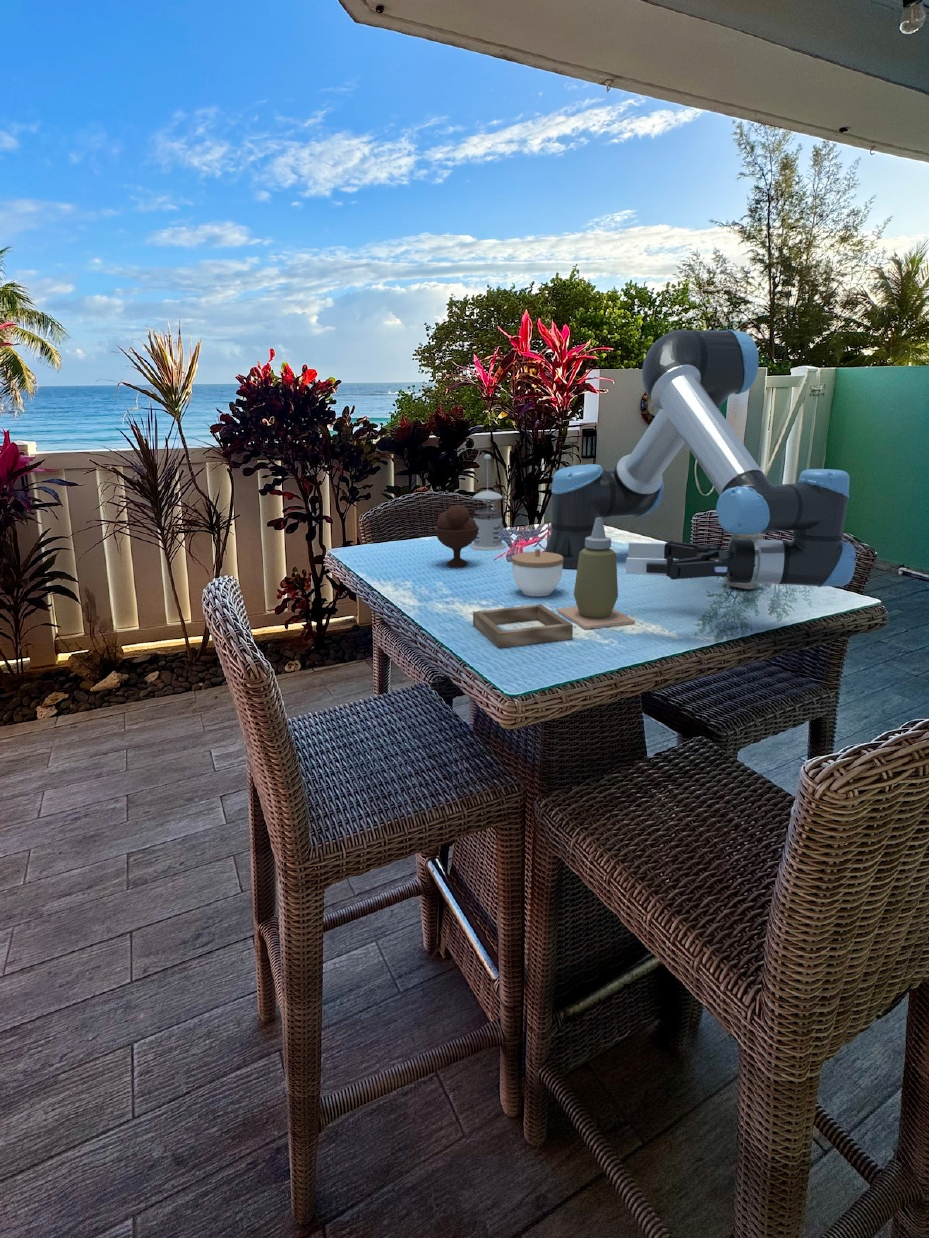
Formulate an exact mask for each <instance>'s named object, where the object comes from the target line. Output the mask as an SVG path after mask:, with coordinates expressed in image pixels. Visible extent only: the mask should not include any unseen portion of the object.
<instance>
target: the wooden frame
mask: <svg viewBox="0 0 929 1238" xmlns="http://www.w3.org/2000/svg"><path fill="white" fill-rule="evenodd" d="M528 621H539V622H540V623H542V624H543V625H542V626H540V625H539V626H533V627H524V628H514V629H507V630H503V629H501V628H500V627H499V626H498V625H503V623H504V624H511V623H519V622H528ZM472 625H473V626H474V627H475V628H476V629H477V630H478V631H479V632H481V633H482V635H484V636H485V637H486V638H487V639H488V640H489V641H491V642H492V643H493V645H495V646H496V647H497V648H498V649H500V648H501V649H503V648H509V647H510V648H511V647H519V646H526V645H534V644H542V643H550V642H559V641H565V640H567V641H568V640H573V637H574V636H573V634H574V633H573V632H574V630H573V629H574V625H573V624H572V623H571V622H569V620H566V619H564V618H563V617H561V616H560V615H558V614H557V613H556V612H553V611H552V610H550V609H549V608H547V607H546V606H544V605H543V604H542V603H541V604H532V605H522V606H512V607H506V608H505V607H504V608H495V609H486V610H485V609H484V610H477V611H473V612H472Z"/></svg>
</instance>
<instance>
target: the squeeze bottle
mask: <svg viewBox="0 0 929 1238" xmlns="http://www.w3.org/2000/svg"><path fill="white" fill-rule="evenodd" d="M603 519H604V518H596V519H595V523H594V527H593V531H592V535H591V536H590V537H586V538H585V547H586V548H584V549H583V550H582V551H580V553H579V560H578V567H577V568H576V576H575V584H574V590H573V591H574V592H573V597H574V601H575V604H576V606H577V607H578V610H579V613H580V614H581V615H583V616H586V617H593V618H602V617H607V616H610V615H611V613H612V610H613V609H615V608H614V607H615V605H616V602H617V601H618V597H619V591H618V590H619V587H618V586H619V585H618V568H617V553H616V552H615V550H613V549H612V548H611V547H612V538H611V537H608V536H606V531H605V525H604V520H603Z"/></svg>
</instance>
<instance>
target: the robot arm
mask: <svg viewBox="0 0 929 1238" xmlns="http://www.w3.org/2000/svg"><path fill="white" fill-rule="evenodd" d="M756 344H757V343H756V342H755V340H754V339H753V338H752V336H751V335H749V334H748V333H747V332H744V331H738V330H733V329H726V330H717V329H716V330H712V329H710V330H709V329H708V330H706V329H705V330H704V329H703V330H699V329H698V330H696V329H693V330H692V329H691V330H689V329H676V330H673V331H669V332H667V333H665V334H664V335H662V336H660V337H659V338H658V339H657V340H656V341H654V343H652V345H651V346H650V348H649V349H648V351H647V353H646V355H645V357H644V359H643V363H642V369H641V370H642V371H641V376H642V384H643V389H644V391H645V393H646V395H647V396H648V398H649V400H650V401H651V402H652V404H653V406H654V407H656V409H658V410H659V411H658V412H657V413H656V415H655V417H654V418H653V420H652V421H651V422H650V424H649V426H648V427H647V429H646V431H645V432H644V434H643V436H641V438H640V439H639V441H638V443H637V445H636V446H634V449H633V450H632V452H631V453H629V454H627V455H624V456H622V457H621V458H620V459H619V460H618V462H617V463H616V465H615V467H614V468H611V469H603V467H602V466H601V465H600V464H593V463H591V464H590V463H587V464H578V465H571V466H566V467H563V468H560V469H558V470H557V471H555V472H554V474H553V477H552V483H551V484H552V485H551V528H550V529H551V531H550V534H549V537H548V540H547V543H546V545H545V549H544V552H550V553H556V554H559V555H561V556H563V569H577V567H578V560H579V553H580V551H582V550H583V549H584V548H586V547H585V538H586V537H590V536H591V535H592V531H593V527H594V523H595V519H596V518H602V519H609V518H611V519H612V518H622V517H624V518H625V517H627V518H628V517H634V518H635V517H641V516H644V515H649V514H650V513H652V512H654V511H655V510H656V509H657V508H658V507H659V505H660V503H661V502H662V499H663V496H662V494H663V493H664V490H665V486H664V480H663V473H664V472H665V470H666V469H667V468H668V467H669V465H670V464H671V463H672V461H673V460H674V458H675V457H676V455H677V454H678V452H680V450H681V449H682V448H683V446H684V445H685V444H686V447H688V449H689V451H690V453H691V454H692V455H693V457H694V458H695V460H696V462H697V463H698V464H699V466H700V467H701V469H702V470H703V472H704V474H705V475H706V477H707V479H708V480H709V481H710V483H711V484H712V486H713V487H714V490H715V492H717V494H718V495H719V497H718V499H717V502H716V508H715V509H716V511H715V513H716V515H717V516H718V519H717V522H718V524H719V526H720V527H721V529H723V531H724V532H726V533H728V534H731V535H732V534H749V535H754V534H758V533H761V534H763V533H764V534H765V533H773V532H774V533H775V532H785V531H792V540H781V539H779V540H777V539H776V540H775V539H773V540H772V539H763V540H757V541H756V543H754V542H753V541H752V540H737V539H734V540H732V541H731V542H730V544H729V543H728V546H729V550H727V551H726V550H722V546H720V545H708V544H707V545H706V544H698V543H688V542H680V541H673V540H670V541H668V542H666V543H665V542H663V543H659V542H632V541H631V542H628V551H627V553H628V555H627V557H626V563H625V564H626V565H625V574H626V575H638V576H639V575H644V576H665V577H668V578H670V579H671V580H672V581H673V580H674V581H675V580H683V579H685V580H686V579H697V578H700V579H701V578H710V577H711V578H712V577H713V578H714V577H715V578H716V577H721V578H725V577H726V576H727V579H728V581H729V582H731V583H749V582H751V580H753V581H754V582H755V583H758V584H765V587H767V588H770V587H772V585H787V586H789V585H790V586H791V585H792V586H805V587H806V586H808V587H810V586H811V587H818V588H822V587H844V586H846V585H848V584H849V583H850V582H852V581H851V580H852V579H853V576H854V573H855V569H856V549H855V546H854V545H853V544H852V543H850V542H845V541H844V537H843V533H844V527H845V522H846V521H845V520H846V513H847V507H848V500H849V499H850V479H851V478H850V475H849V473H848V472H847V471H844V470H841V469H840V470H839V469H828V468H811V469H810V468H809V469H805V470H802V471H801V473H800V475H799V478H798V481H797V483H795V482H794V483H786V484H785V483H784V484H783V483H782V484H773V483H771V481H770V480H769V478H768V477H767V476H766V475H765V474H764V472H763V471H762V469H761V468H760V466H759V465H758V463H757V461H756V460H755V459H754V458H753V457H752V455H751V454H750V452H749V451H748V449H747V448H746V446H745V445H744V443H743V442H742V441H741V439H740V438H739V437H738V435H737V434H736V432H735V431H734V429H733V427H731V425H730V424H729V422H728V421H727V419H726V418H725V417H724V415H723V413H722V412H721V411H720V408H721V407H722V406H723V404H724V403H725V402H726V400H727V399H728V398H729V397H730V396H731V395H732V394H733V395H740V394H743V393H745V392H746V391H749V389H751V387H752V386H753V385H754V383H755V381H756V378H757V375H758V371H759V359H760V358H759V351H758V347H757V345H756Z"/></svg>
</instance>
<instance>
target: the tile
mask: <svg viewBox="0 0 929 1238" xmlns="http://www.w3.org/2000/svg"><path fill="white" fill-rule="evenodd" d="M556 612H557V613H558V614H559V615H561V616H563V617H564V616H565V617H564V618H566V619H567V620H569V619H570V620H569V621H571V622H572V621H573V622H572V623H574V624H575V623H576V624H575V625H577V624H578V625H577V626H579V627H580V626H581V627H580V628H581V629H583V628H584V629H583V630H585V629H587V630H592V629H591V628H595V629H600V628H599V627H604V628H607V627H606V626H612V627H619V626H626V625H625V624H628V625H633V624H632V623H635V624H636V620H635V619H633V618H631V617H629V616H628V615H626V614H625V613H621V612H620V611H618V610H616V609H615V608H613V610H612V613H611V615H610V616H607V617H602V618H593V617H586V616H583V615H581V614H580V613H579V610H578V607H577V605H576V606H568V607H567V606H566V607H557V608H556Z"/></svg>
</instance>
